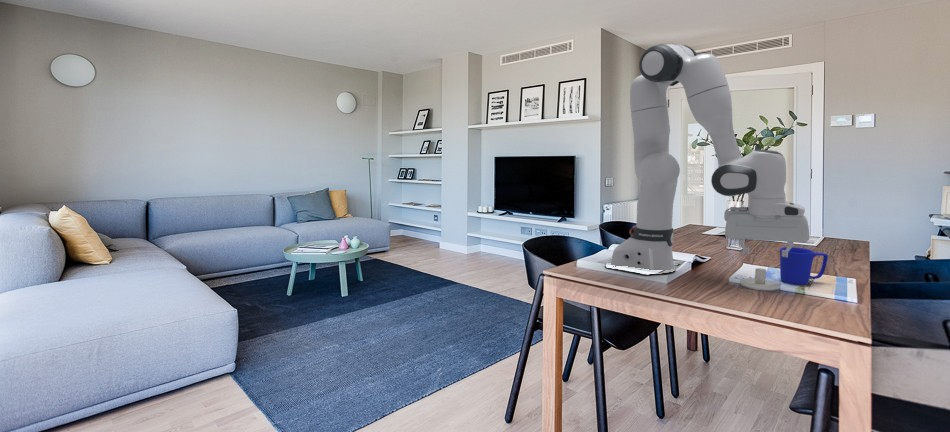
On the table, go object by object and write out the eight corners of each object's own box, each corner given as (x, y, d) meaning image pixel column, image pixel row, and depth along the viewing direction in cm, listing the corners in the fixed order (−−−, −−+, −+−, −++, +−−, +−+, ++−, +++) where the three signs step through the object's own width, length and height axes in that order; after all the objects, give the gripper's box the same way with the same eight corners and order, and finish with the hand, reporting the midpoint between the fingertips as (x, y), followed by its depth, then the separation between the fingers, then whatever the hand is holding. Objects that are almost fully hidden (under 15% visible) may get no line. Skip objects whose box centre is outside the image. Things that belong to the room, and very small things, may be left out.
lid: (738, 287, 132) (739, 271, 131) (741, 279, 140) (742, 263, 139) (779, 293, 126) (781, 276, 126) (780, 283, 135) (782, 267, 134)
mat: (738, 288, 132) (738, 287, 132) (741, 280, 140) (741, 278, 140) (779, 294, 126) (779, 292, 126) (780, 285, 135) (780, 283, 135)
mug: (832, 288, 131) (835, 253, 129) (784, 286, 133) (787, 252, 132) (817, 280, 139) (820, 247, 137) (772, 278, 141) (775, 246, 140)
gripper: (723, 208, 133) (722, 255, 135) (810, 209, 121) (808, 261, 123) (725, 205, 138) (725, 250, 140) (810, 206, 126) (808, 255, 128)
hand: (764, 255), depth 131 cm, fingers open, 8 cm apart
